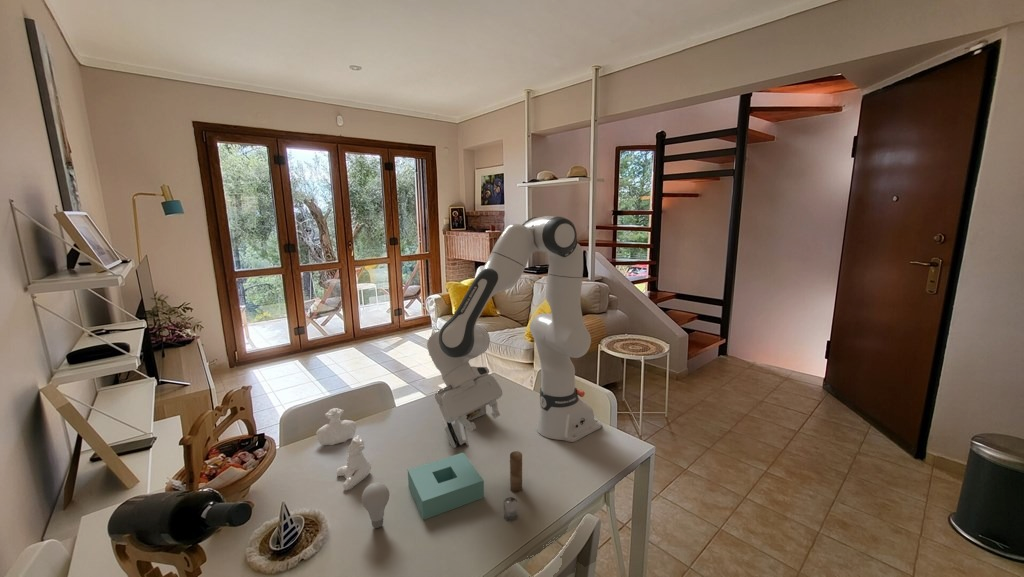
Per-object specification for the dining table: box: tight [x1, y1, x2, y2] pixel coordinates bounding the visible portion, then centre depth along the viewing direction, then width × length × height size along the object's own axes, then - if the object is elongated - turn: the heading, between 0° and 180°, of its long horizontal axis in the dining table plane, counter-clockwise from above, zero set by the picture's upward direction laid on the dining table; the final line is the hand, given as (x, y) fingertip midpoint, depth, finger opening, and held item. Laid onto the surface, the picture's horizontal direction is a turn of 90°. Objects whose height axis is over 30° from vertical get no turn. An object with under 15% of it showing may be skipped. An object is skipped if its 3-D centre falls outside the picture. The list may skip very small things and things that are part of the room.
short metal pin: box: [503, 496, 518, 522], centre depth 98 cm, size 3×3×4 cm
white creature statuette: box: [336, 434, 372, 492], centre depth 112 cm, size 10×9×12 cm
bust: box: [315, 407, 357, 446], centre depth 132 cm, size 12×8×11 cm
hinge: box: [440, 412, 469, 449], centre depth 134 cm, size 17×5×10 cm, turn 13°
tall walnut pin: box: [509, 450, 523, 494], centre depth 107 cm, size 3×3×10 cm
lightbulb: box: [361, 481, 390, 529], centre depth 94 cm, size 6×6×11 cm
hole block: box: [407, 452, 485, 521], centre depth 106 cm, size 16×14×5 cm
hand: (485, 423), depth 112 cm, fingers open, 8 cm apart
